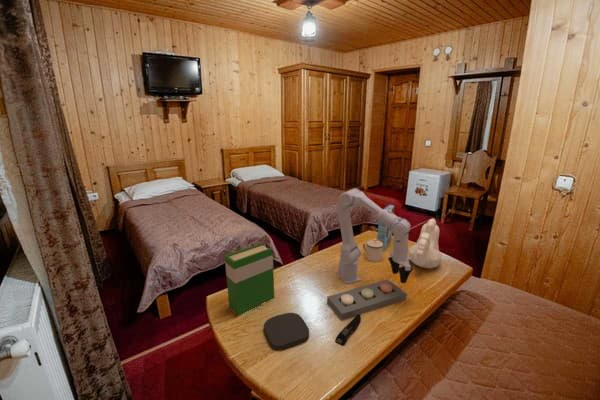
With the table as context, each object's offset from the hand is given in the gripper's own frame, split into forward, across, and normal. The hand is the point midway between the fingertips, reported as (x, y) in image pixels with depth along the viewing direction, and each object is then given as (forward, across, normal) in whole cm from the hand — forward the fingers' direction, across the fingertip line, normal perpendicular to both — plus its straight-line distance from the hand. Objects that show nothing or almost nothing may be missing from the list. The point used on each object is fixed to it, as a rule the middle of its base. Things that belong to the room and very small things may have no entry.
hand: (399, 277), depth 122 cm
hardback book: (+7, +4, +63) cm, 64 cm away
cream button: (+6, -4, +24) cm, 25 cm away
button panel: (+9, -1, +15) cm, 17 cm away
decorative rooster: (+10, +23, -23) cm, 34 cm away
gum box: (+8, +51, -15) cm, 53 cm away
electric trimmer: (+9, -17, +28) cm, 34 cm away
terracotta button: (+7, +2, +5) cm, 9 cm away
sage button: (+7, -1, +15) cm, 16 cm away
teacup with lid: (+8, +36, -1) cm, 37 cm away
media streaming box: (+8, -15, +50) cm, 53 cm away
